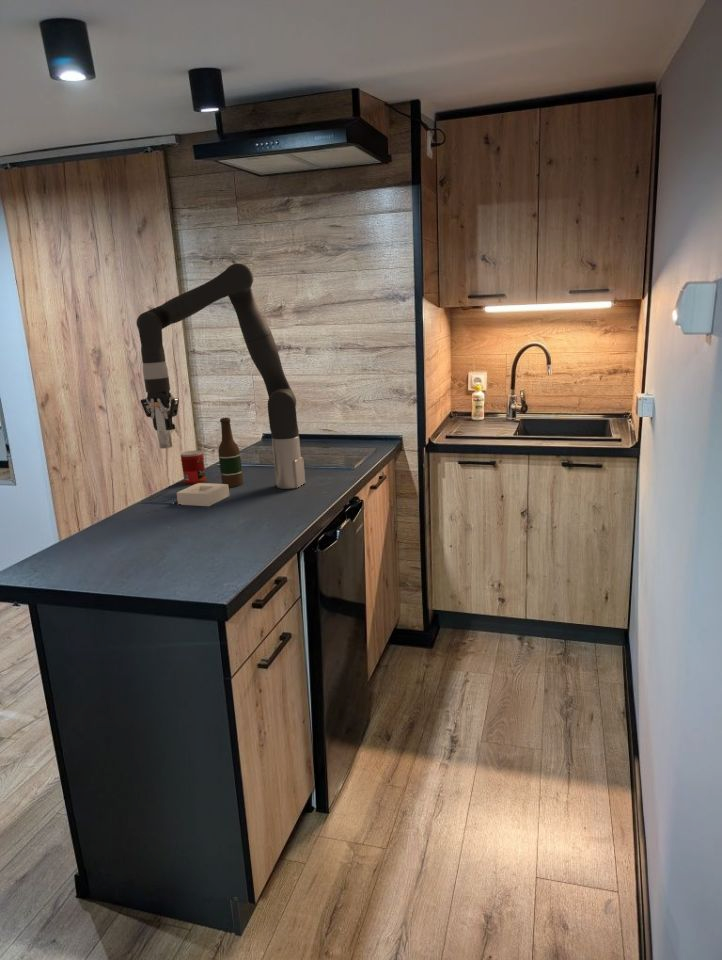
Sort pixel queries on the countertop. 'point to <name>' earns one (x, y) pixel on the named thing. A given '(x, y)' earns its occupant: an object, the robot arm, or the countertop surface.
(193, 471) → the canned food
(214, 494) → the socket block
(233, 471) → the beer bottle
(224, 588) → the countertop surface
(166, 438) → the plug
